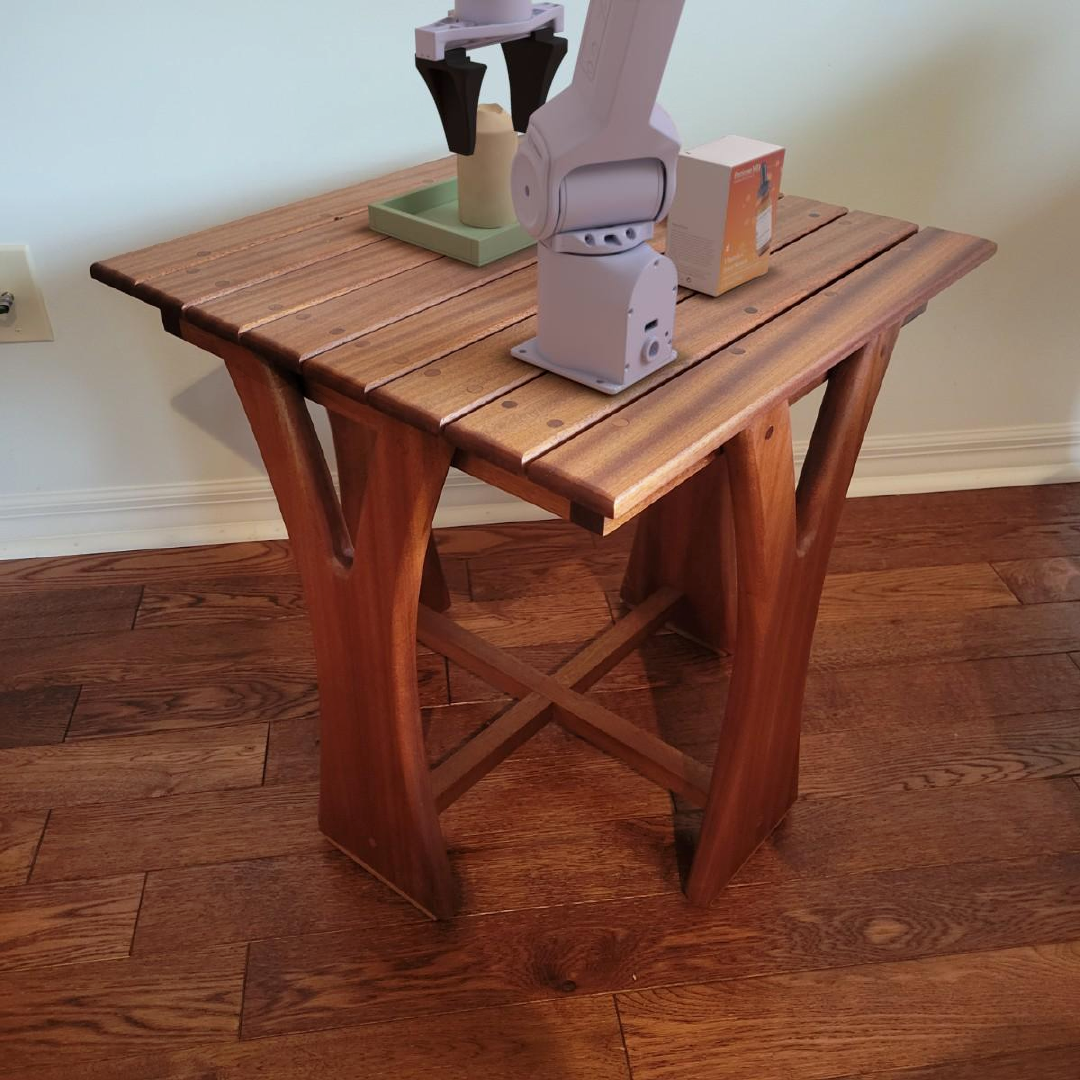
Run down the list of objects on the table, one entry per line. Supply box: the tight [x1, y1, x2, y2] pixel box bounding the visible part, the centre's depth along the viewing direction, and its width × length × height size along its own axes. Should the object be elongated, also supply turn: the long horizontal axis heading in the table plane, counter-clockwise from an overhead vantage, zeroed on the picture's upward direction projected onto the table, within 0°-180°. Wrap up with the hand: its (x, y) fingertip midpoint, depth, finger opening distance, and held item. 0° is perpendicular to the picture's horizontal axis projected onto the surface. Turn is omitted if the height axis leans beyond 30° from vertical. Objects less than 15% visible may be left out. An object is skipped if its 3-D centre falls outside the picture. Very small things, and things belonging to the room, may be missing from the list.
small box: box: [663, 133, 786, 297], centre depth 89 cm, size 8×6×10 cm
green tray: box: [367, 174, 538, 268], centre depth 101 cm, size 14×18×2 cm
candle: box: [456, 102, 519, 228], centre depth 99 cm, size 6×6×10 cm
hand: (494, 142), depth 87 cm, fingers open, 7 cm apart
